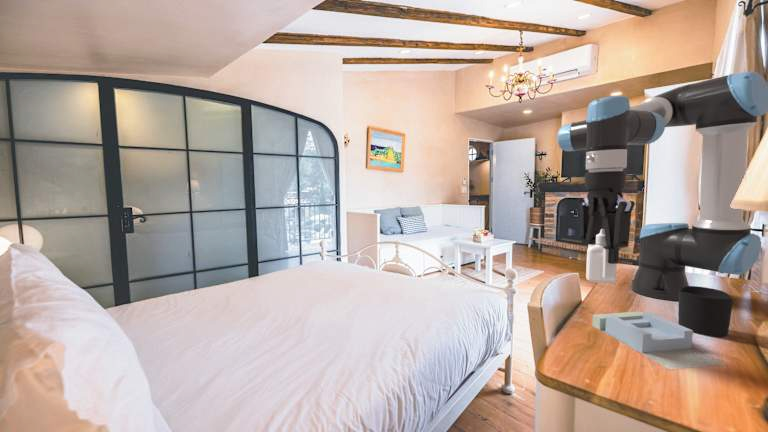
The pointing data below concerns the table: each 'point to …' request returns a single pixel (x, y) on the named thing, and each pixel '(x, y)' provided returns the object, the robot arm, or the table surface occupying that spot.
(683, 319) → the pen holder
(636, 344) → the cradle block
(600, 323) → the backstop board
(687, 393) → the table surface
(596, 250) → the eye dropper bottle
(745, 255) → the robot arm
